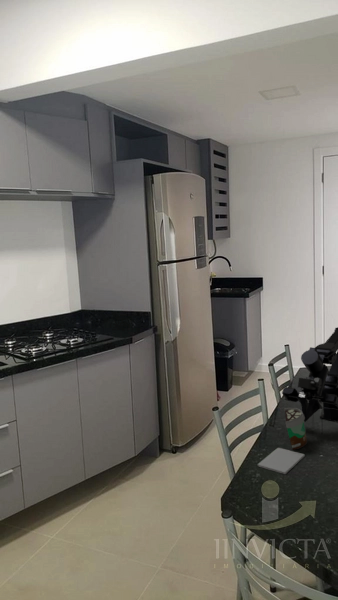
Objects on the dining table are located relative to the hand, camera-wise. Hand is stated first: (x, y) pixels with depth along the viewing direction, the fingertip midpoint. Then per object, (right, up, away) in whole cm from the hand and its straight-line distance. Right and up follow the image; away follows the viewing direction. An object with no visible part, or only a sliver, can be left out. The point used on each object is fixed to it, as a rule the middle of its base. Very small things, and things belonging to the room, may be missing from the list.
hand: (304, 421), depth 154 cm
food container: (-1, -7, -1) cm, 7 cm away
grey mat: (-10, -9, -12) cm, 18 cm away
